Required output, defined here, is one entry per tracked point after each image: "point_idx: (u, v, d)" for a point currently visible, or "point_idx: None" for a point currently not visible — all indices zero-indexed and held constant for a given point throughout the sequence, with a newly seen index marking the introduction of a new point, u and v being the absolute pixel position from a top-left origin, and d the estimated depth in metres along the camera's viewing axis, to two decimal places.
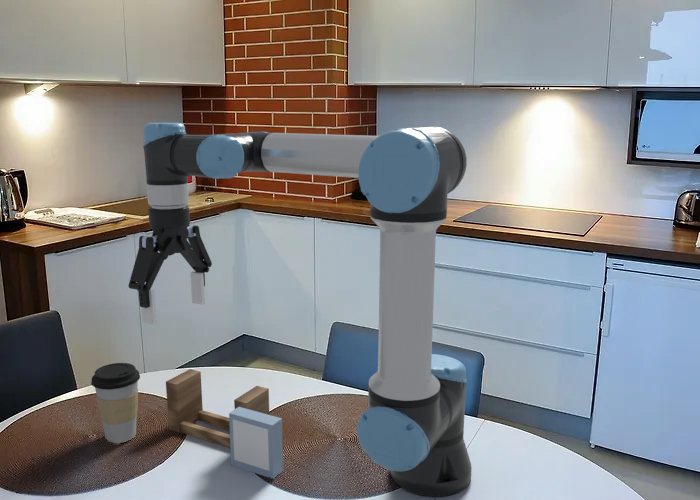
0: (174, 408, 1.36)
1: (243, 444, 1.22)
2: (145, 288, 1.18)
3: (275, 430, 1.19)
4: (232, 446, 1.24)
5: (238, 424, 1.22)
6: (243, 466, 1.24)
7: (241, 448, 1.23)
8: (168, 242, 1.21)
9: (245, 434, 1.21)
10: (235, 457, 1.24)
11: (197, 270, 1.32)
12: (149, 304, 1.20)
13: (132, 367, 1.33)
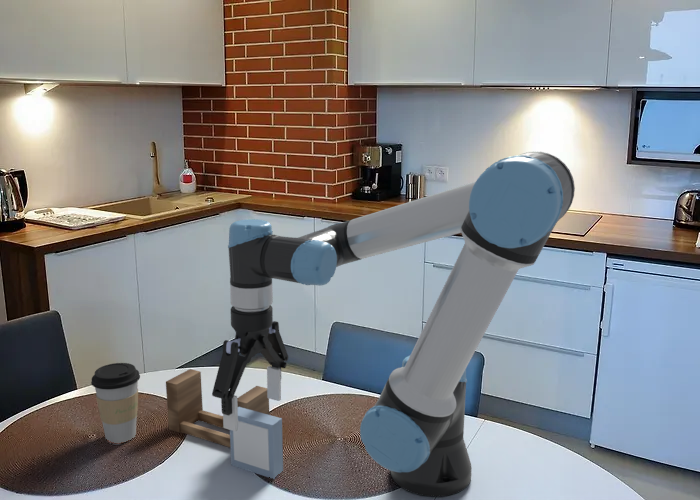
0: (174, 408, 1.36)
1: (243, 444, 1.22)
2: (229, 396, 1.12)
3: (275, 430, 1.19)
4: (232, 446, 1.24)
5: (238, 424, 1.22)
6: (243, 466, 1.24)
7: (241, 448, 1.23)
8: (251, 345, 1.16)
9: (245, 434, 1.21)
10: (235, 457, 1.24)
11: (274, 365, 1.26)
12: (231, 411, 1.14)
13: (132, 367, 1.33)
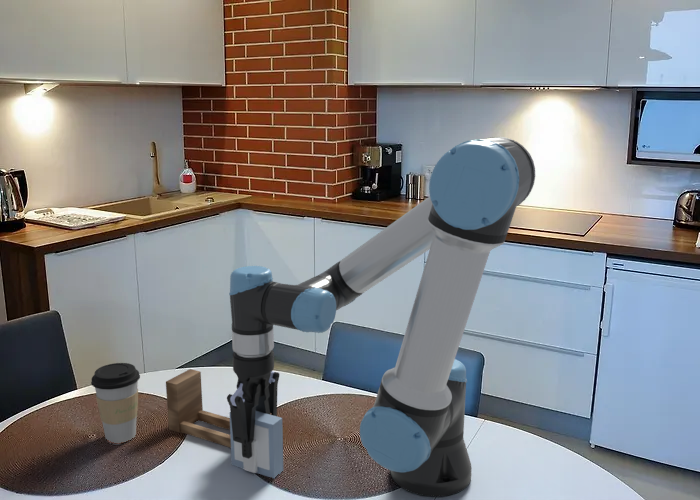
0: (174, 408, 1.36)
1: None
2: (249, 441, 1.19)
3: (275, 429, 1.19)
4: (232, 445, 1.24)
5: None
6: None
7: (241, 447, 1.23)
8: (254, 391, 1.18)
9: None
10: (235, 456, 1.24)
11: None
12: (251, 454, 1.21)
13: (132, 367, 1.33)
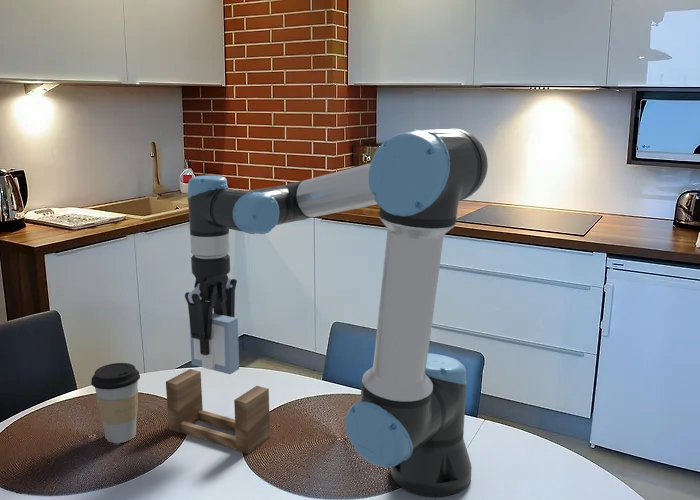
0: (174, 408, 1.36)
1: None
2: (206, 339, 1.29)
3: (230, 328, 1.29)
4: (192, 346, 1.34)
5: None
6: None
7: None
8: (211, 291, 1.27)
9: None
10: (195, 356, 1.33)
11: None
12: (208, 351, 1.30)
13: (132, 367, 1.33)
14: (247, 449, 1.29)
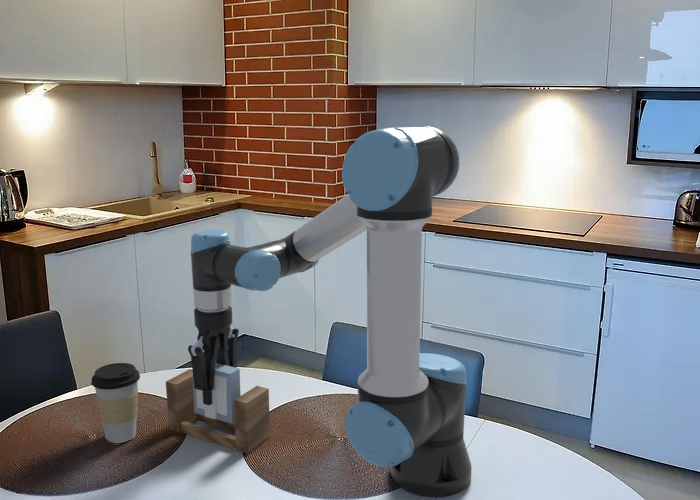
0: (174, 408, 1.36)
1: None
2: (209, 389, 1.31)
3: (233, 379, 1.31)
4: (195, 395, 1.36)
5: None
6: None
7: (202, 396, 1.35)
8: (213, 343, 1.30)
9: None
10: (198, 405, 1.36)
11: None
12: (211, 401, 1.33)
13: (132, 367, 1.33)
14: (247, 449, 1.29)
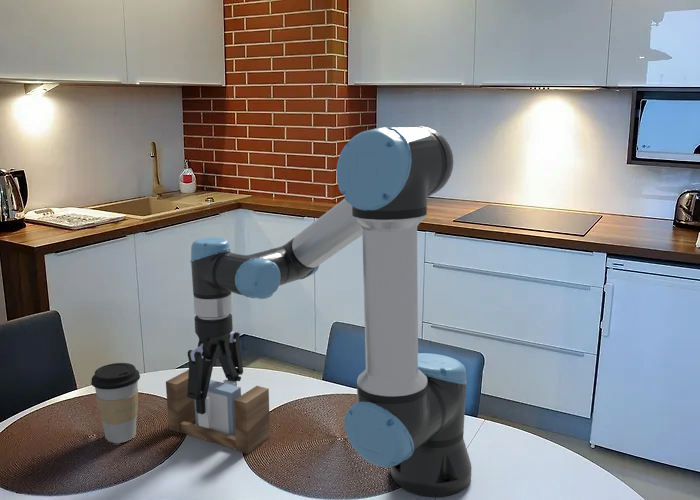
0: (174, 408, 1.36)
1: None
2: (202, 398, 1.29)
3: (234, 397, 1.32)
4: (196, 413, 1.37)
5: None
6: None
7: None
8: (213, 350, 1.30)
9: None
10: None
11: (229, 378, 1.38)
12: (204, 410, 1.31)
13: (132, 367, 1.33)
14: (247, 449, 1.29)
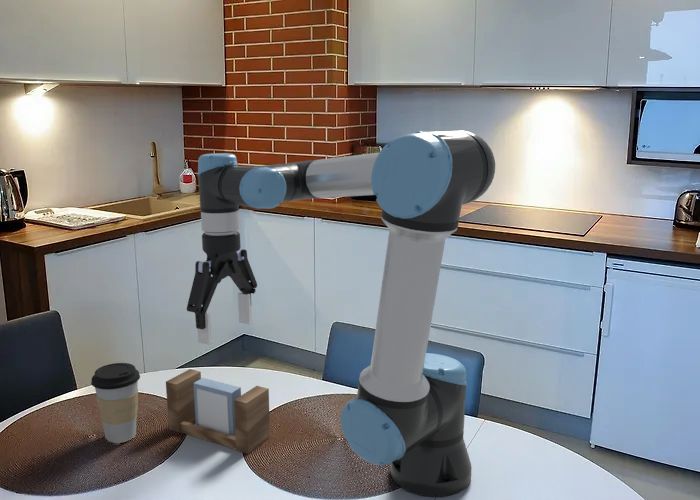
0: (174, 408, 1.36)
1: (206, 411, 1.35)
2: (202, 311, 1.25)
3: (234, 397, 1.32)
4: (196, 413, 1.37)
5: (201, 393, 1.35)
6: None
7: (204, 415, 1.36)
8: (221, 266, 1.28)
9: (208, 402, 1.34)
10: (199, 423, 1.37)
11: (244, 291, 1.39)
12: (205, 325, 1.26)
13: (132, 367, 1.33)
14: (247, 449, 1.29)
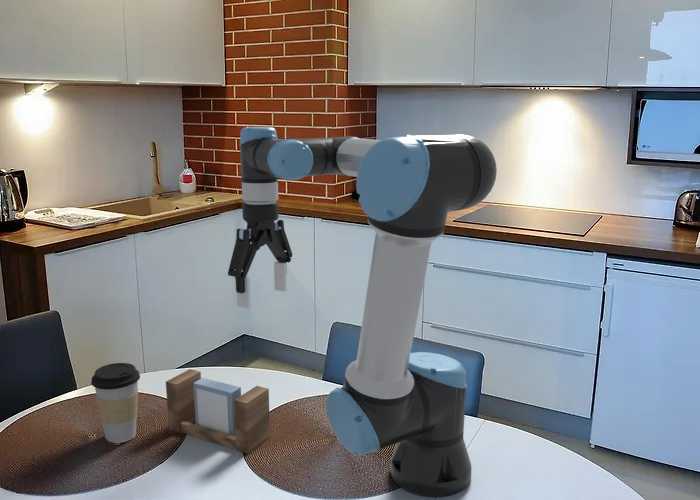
0: (174, 408, 1.36)
1: (206, 411, 1.35)
2: (242, 275, 1.31)
3: (234, 397, 1.32)
4: (196, 413, 1.37)
5: (201, 393, 1.35)
6: None
7: (204, 414, 1.36)
8: (260, 234, 1.35)
9: (208, 402, 1.34)
10: (199, 423, 1.37)
11: (280, 260, 1.45)
12: (244, 290, 1.33)
13: (132, 367, 1.33)
14: (247, 449, 1.29)
